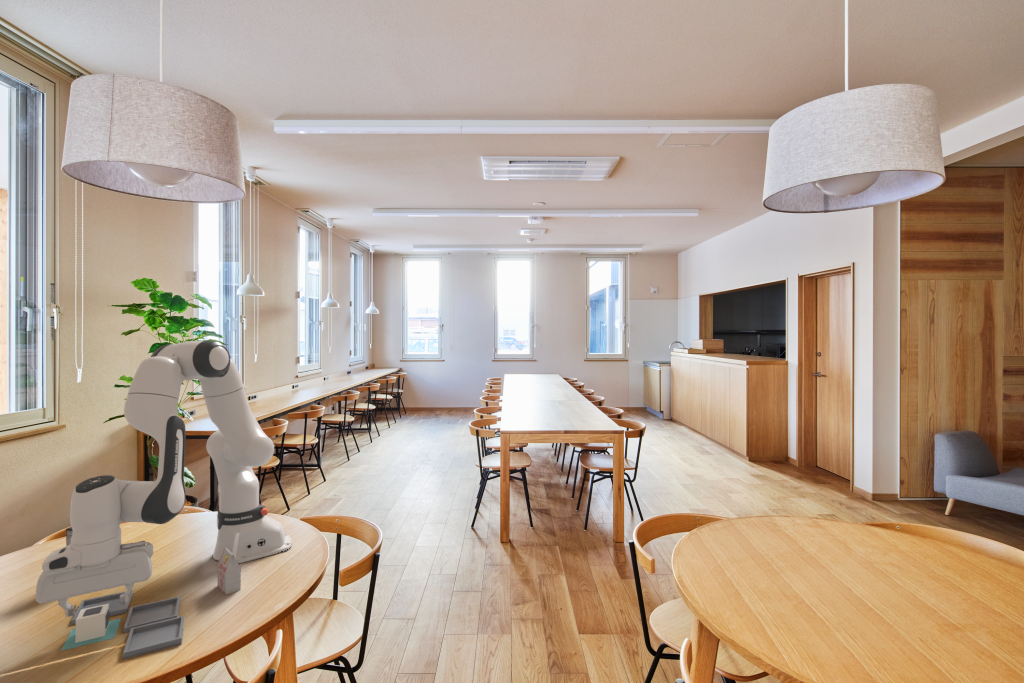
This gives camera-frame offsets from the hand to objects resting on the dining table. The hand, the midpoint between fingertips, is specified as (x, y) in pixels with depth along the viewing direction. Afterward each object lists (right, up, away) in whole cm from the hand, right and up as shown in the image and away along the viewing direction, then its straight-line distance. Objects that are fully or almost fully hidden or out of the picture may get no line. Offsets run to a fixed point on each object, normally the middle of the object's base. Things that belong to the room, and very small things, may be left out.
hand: (98, 608), depth 111 cm
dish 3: (+15, -6, -2) cm, 16 cm away
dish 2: (+8, -6, +7) cm, 12 cm away
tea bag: (+18, -6, +21) cm, 28 cm away
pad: (-1, -6, -1) cm, 6 cm away
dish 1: (-7, -6, +10) cm, 13 cm away
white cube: (-1, -5, -1) cm, 5 cm away
